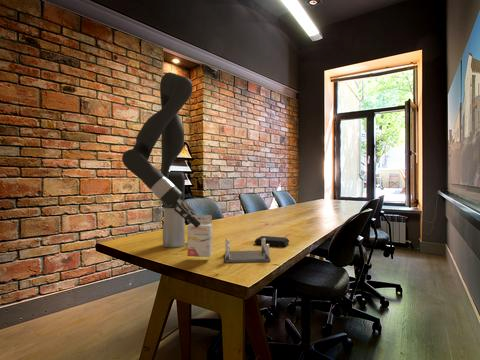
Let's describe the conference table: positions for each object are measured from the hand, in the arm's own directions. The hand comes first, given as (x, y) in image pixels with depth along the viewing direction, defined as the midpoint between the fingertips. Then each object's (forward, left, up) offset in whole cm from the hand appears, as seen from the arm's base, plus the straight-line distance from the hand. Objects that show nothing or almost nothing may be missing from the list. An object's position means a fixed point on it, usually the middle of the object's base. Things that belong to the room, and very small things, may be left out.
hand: (199, 224), depth 104 cm
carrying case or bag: (+31, +23, -14) cm, 41 cm away
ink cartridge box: (0, 0, -12) cm, 12 cm away
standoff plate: (+18, +2, -13) cm, 22 cm away
